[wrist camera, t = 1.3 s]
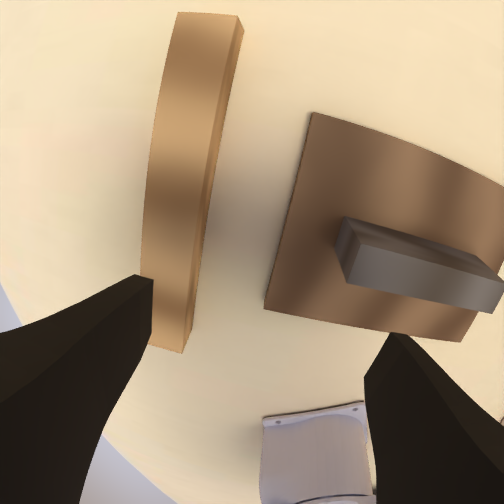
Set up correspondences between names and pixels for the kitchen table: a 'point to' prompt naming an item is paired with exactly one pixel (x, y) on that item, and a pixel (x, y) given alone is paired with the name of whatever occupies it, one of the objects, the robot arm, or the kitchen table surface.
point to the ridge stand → (387, 236)
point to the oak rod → (185, 166)
